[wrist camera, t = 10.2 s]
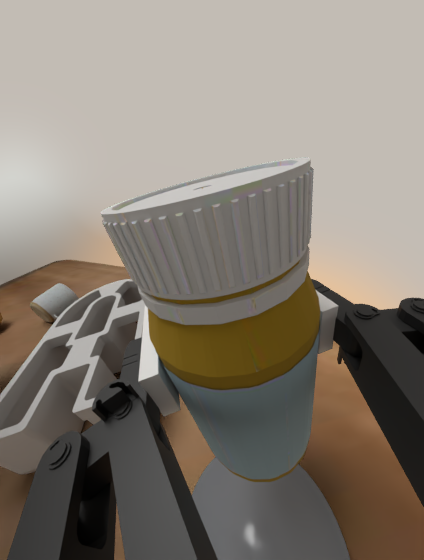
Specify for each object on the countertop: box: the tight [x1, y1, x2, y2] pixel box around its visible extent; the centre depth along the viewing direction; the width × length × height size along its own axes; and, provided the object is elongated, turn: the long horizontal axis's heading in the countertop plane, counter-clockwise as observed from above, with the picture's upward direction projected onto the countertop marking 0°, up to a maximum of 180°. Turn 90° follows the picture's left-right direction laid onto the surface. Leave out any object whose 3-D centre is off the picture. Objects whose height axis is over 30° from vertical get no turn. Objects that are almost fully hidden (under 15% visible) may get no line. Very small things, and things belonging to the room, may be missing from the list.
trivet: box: [192, 457, 350, 560], centre depth 15 cm, size 12×12×1 cm
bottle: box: [101, 158, 320, 482], centre depth 10 cm, size 7×7×15 cm
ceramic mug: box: [30, 283, 79, 322], centre depth 50 cm, size 11×8×8 cm
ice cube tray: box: [0, 279, 145, 475], centre depth 33 cm, size 17×28×9 cm, turn 13°
